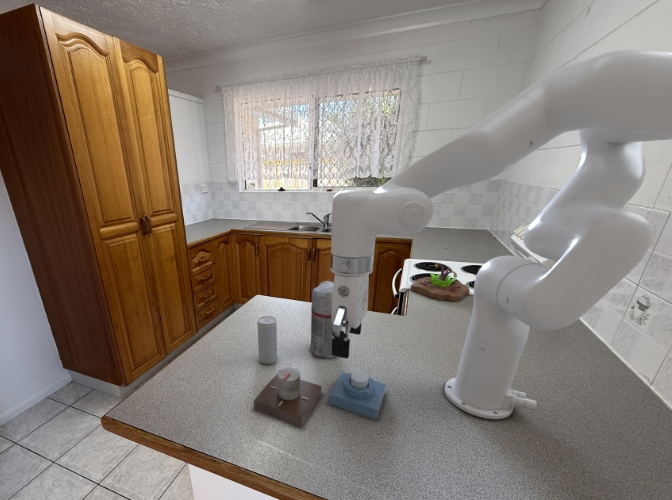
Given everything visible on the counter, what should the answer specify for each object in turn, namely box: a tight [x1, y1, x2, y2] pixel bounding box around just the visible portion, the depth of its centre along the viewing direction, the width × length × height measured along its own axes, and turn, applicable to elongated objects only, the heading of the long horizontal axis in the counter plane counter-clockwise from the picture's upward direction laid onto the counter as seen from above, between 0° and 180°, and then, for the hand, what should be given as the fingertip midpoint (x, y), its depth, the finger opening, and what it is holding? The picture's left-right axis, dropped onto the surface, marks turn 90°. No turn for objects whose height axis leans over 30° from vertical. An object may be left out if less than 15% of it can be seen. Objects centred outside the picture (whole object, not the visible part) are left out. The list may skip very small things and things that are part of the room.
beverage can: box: [256, 315, 278, 365], centre depth 81 cm, size 5×5×12 cm
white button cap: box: [350, 371, 369, 389], centre depth 67 cm, size 4×4×2 cm
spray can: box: [310, 280, 336, 359], centre depth 83 cm, size 8×8×20 cm
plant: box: [410, 263, 471, 302], centre depth 124 cm, size 20×20×11 cm
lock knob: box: [276, 366, 301, 400], centre depth 66 cm, size 5×5×5 cm
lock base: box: [253, 373, 323, 429], centre depth 68 cm, size 11×11×3 cm
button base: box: [328, 371, 387, 421], centre depth 68 cm, size 10×9×4 cm
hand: (346, 343), depth 63 cm, fingers open, 9 cm apart
